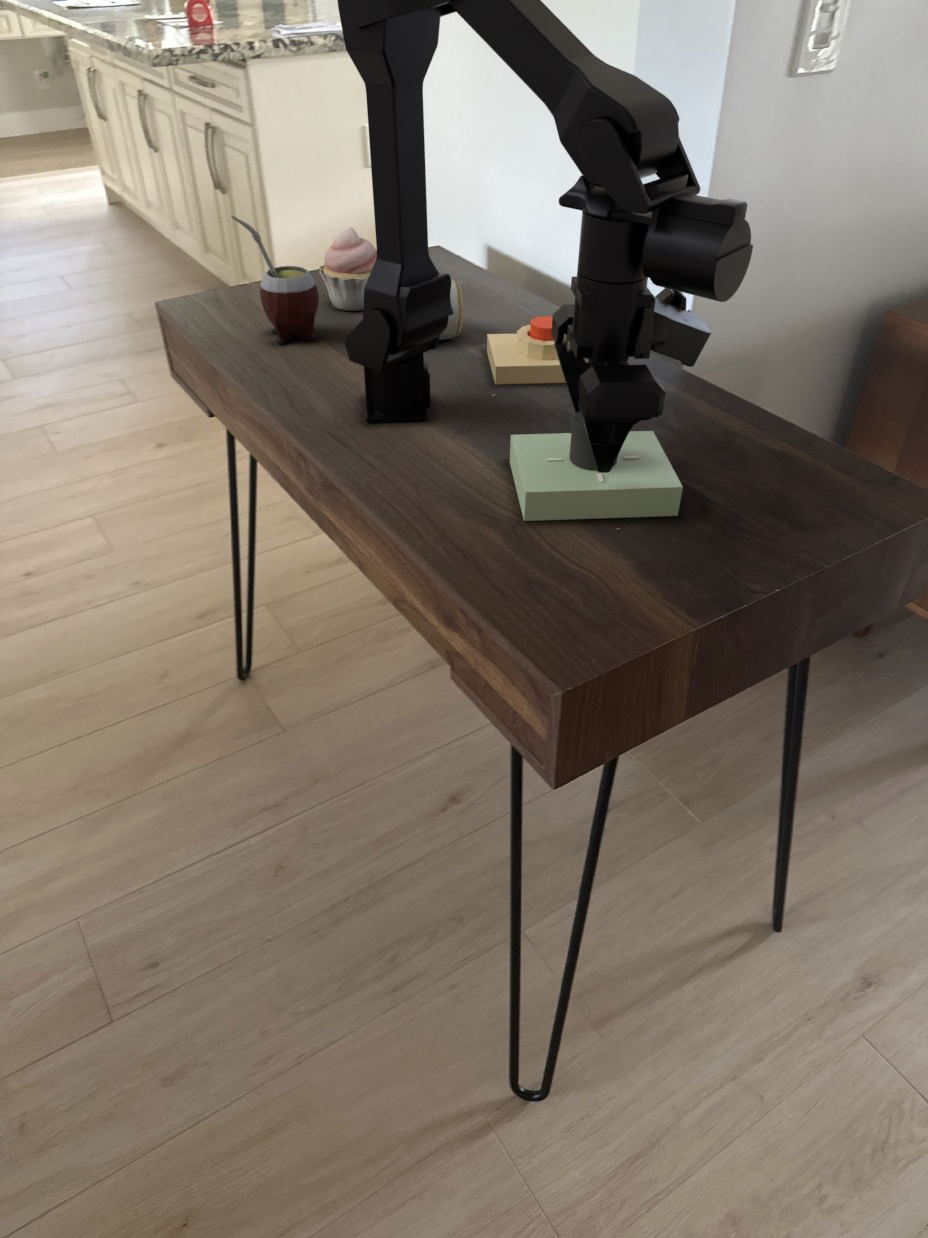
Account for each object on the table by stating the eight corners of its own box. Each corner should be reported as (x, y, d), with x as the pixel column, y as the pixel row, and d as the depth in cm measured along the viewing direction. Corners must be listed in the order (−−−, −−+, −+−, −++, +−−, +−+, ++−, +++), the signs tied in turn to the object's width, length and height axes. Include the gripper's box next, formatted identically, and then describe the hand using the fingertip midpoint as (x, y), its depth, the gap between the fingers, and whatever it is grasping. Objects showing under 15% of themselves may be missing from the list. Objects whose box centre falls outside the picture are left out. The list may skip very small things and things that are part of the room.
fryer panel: (523, 521, 80) (525, 490, 78) (509, 462, 89) (510, 432, 87) (677, 516, 81) (683, 485, 79) (648, 457, 90) (653, 428, 88)
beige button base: (495, 384, 103) (496, 350, 101) (486, 351, 111) (487, 319, 109) (606, 381, 104) (610, 348, 102) (590, 348, 112) (593, 317, 109)
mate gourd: (332, 332, 116) (321, 207, 106) (296, 353, 110) (282, 223, 101) (284, 322, 118) (270, 199, 109) (247, 342, 113) (229, 214, 103)
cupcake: (403, 302, 125) (400, 226, 118) (356, 320, 119) (351, 241, 113) (354, 288, 129) (349, 214, 123) (307, 305, 123) (299, 228, 117)
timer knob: (621, 469, 81) (627, 426, 79) (573, 471, 81) (577, 427, 78) (611, 447, 85) (616, 404, 82) (565, 448, 84) (569, 405, 82)
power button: (532, 343, 104) (532, 328, 102) (527, 330, 107) (528, 316, 106) (566, 342, 104) (567, 327, 103) (560, 329, 107) (561, 315, 106)
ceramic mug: (465, 346, 112) (465, 283, 107) (400, 350, 111) (397, 287, 106) (450, 318, 120) (450, 258, 116) (389, 321, 119) (386, 261, 114)
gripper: (747, 311, 66) (709, 496, 75) (680, 238, 80) (655, 401, 90) (597, 313, 65) (578, 500, 75) (556, 240, 80) (545, 404, 89)
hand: (593, 447), depth 82 cm, fingers open, 9 cm apart
